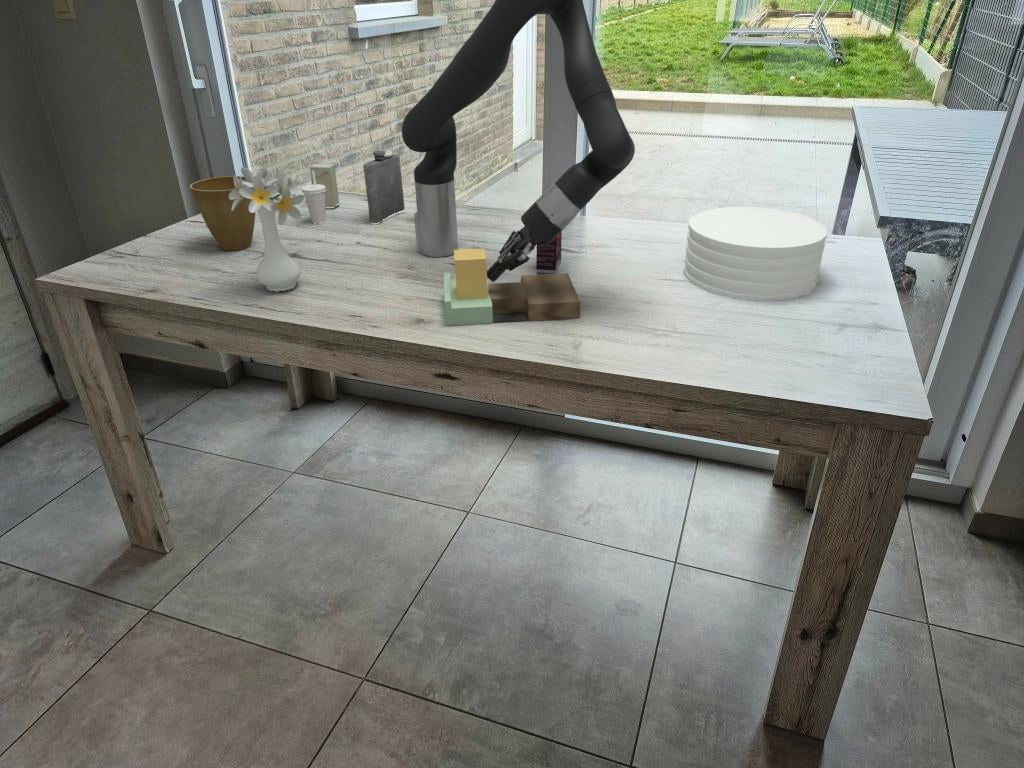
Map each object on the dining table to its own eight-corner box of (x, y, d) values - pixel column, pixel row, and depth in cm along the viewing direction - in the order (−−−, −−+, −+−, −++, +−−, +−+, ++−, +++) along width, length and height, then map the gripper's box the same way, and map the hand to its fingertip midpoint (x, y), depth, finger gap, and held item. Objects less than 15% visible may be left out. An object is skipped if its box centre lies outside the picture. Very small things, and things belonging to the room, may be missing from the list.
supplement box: (556, 274, 157) (557, 204, 149) (535, 273, 158) (535, 203, 150) (562, 261, 164) (563, 193, 156) (541, 260, 165) (542, 192, 157)
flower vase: (291, 306, 144) (268, 183, 132) (232, 288, 153) (205, 172, 141) (336, 285, 154) (319, 169, 141) (279, 270, 163) (257, 159, 150)
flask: (365, 223, 192) (357, 156, 183) (396, 209, 203) (389, 145, 194) (376, 225, 191) (368, 157, 182) (406, 211, 202) (400, 146, 193)
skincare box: (314, 209, 205) (308, 166, 199) (320, 204, 209) (314, 163, 203) (335, 209, 204) (328, 167, 198) (340, 205, 208) (334, 163, 202)
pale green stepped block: (488, 292, 149) (487, 270, 146) (492, 322, 136) (492, 299, 133) (445, 295, 148) (444, 272, 145) (446, 325, 135) (444, 301, 133)
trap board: (567, 288, 150) (567, 273, 148) (579, 318, 137) (580, 301, 135) (487, 292, 149) (486, 277, 147) (491, 323, 136) (491, 306, 134)
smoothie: (327, 225, 191) (319, 173, 184) (304, 226, 191) (295, 174, 184) (333, 218, 197) (325, 167, 190) (310, 218, 197) (302, 168, 190)
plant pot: (242, 258, 170) (228, 192, 162) (192, 252, 174) (176, 188, 166) (279, 239, 182) (267, 177, 174) (231, 234, 186) (217, 173, 178)
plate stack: (739, 311, 139) (747, 256, 133) (658, 266, 161) (663, 216, 155) (845, 287, 148) (858, 234, 142) (756, 247, 170) (763, 200, 165)
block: (485, 286, 143) (484, 248, 139) (487, 297, 138) (486, 258, 134) (456, 287, 142) (454, 249, 138) (457, 299, 137) (454, 260, 133)
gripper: (532, 191, 138) (473, 254, 143) (541, 210, 126) (476, 278, 132) (559, 216, 141) (500, 277, 146) (569, 238, 129) (505, 302, 135)
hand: (489, 277), depth 139 cm, fingers closed
